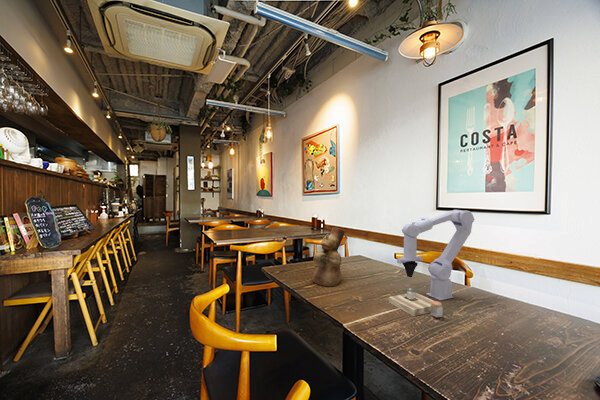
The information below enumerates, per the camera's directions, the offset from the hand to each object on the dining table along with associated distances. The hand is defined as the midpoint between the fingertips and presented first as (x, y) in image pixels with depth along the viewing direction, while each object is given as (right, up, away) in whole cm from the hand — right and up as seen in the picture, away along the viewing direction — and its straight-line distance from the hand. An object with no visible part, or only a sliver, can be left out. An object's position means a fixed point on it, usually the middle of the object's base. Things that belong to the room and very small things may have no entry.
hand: (409, 276), depth 122 cm
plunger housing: (+1, -10, -22) cm, 24 cm away
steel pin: (-4, -10, -9) cm, 14 cm away
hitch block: (-3, -10, -11) cm, 15 cm away
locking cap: (+1, -8, -22) cm, 23 cm away
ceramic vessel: (-36, -9, +20) cm, 43 cm away
